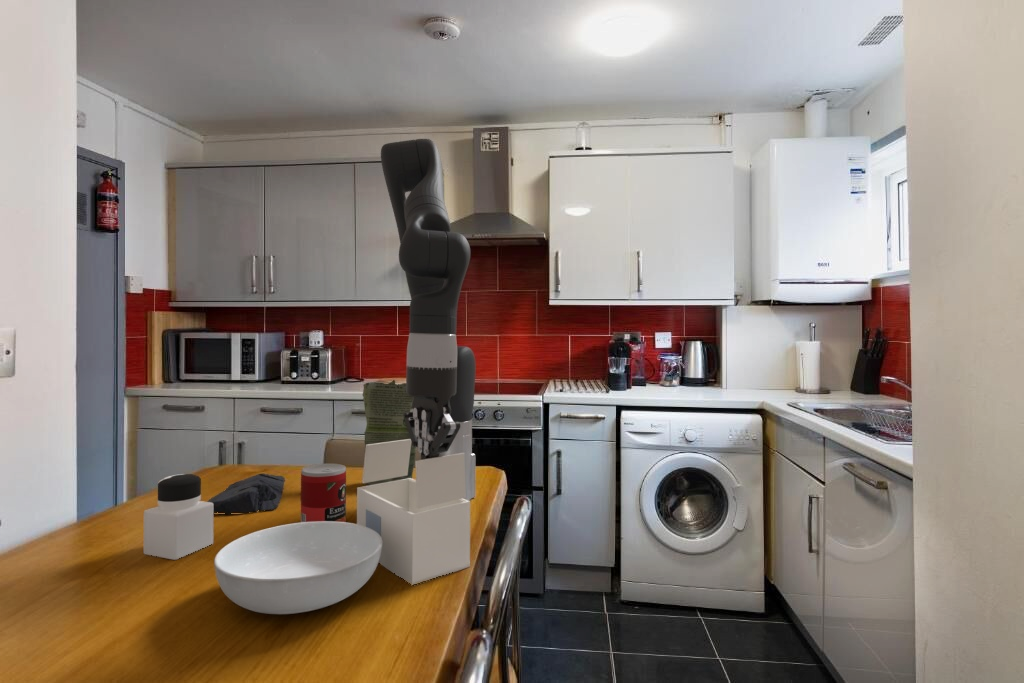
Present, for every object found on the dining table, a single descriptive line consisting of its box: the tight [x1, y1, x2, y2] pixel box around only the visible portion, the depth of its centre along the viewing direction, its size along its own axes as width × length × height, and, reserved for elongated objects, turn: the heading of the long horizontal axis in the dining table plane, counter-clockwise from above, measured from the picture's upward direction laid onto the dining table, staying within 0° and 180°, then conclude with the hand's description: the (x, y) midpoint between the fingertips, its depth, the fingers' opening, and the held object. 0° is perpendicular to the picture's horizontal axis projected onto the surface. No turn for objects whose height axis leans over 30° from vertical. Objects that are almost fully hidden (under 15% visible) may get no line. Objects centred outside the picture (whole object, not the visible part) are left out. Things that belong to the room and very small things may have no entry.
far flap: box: [361, 439, 411, 484], centre depth 91 cm, size 8×7×1 cm
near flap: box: [414, 453, 466, 509], centre depth 79 cm, size 8×7×1 cm
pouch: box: [362, 379, 417, 486], centre depth 129 cm, size 11×12×25 cm
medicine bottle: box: [143, 473, 215, 561], centre depth 88 cm, size 7×7×12 cm
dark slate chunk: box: [206, 472, 286, 514], centre depth 116 cm, size 15×22×5 cm
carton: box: [356, 477, 471, 586], centre depth 85 cm, size 10×18×10 cm, turn 41°
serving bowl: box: [213, 521, 382, 615], centre depth 72 cm, size 21×21×7 cm
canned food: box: [300, 463, 347, 523], centre depth 98 cm, size 8×8×11 cm
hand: (429, 478), depth 81 cm, fingers closed
